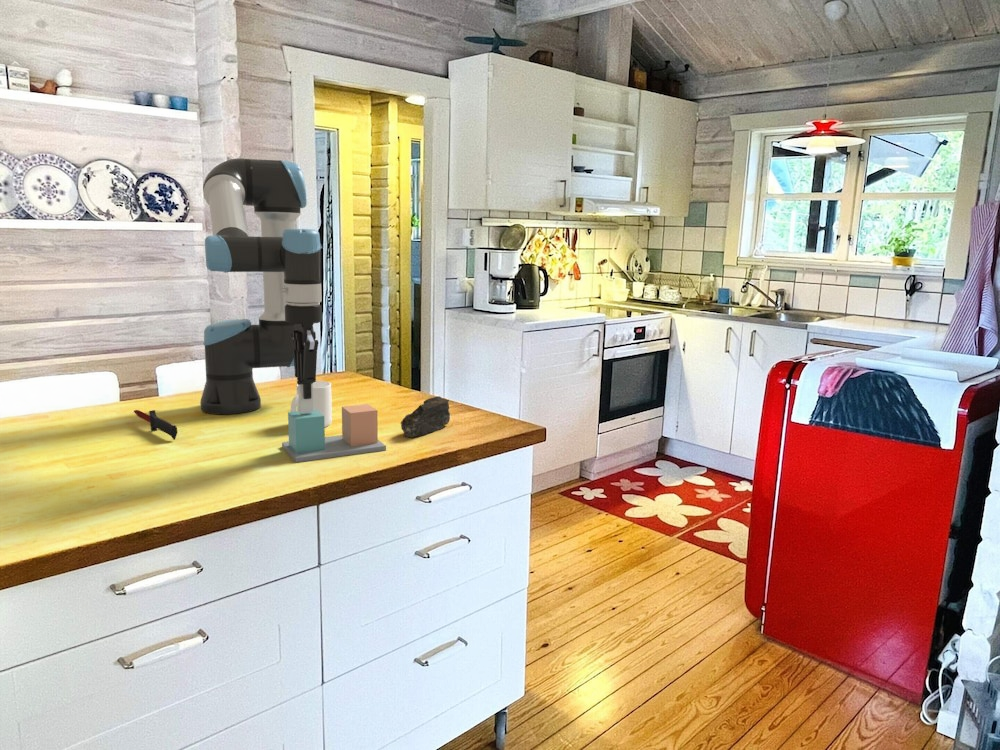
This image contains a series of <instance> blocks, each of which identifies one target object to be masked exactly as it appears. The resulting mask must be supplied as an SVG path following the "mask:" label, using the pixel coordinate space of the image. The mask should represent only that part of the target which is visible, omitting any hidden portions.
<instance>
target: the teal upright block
mask: <svg viewBox="0 0 1000 750" xmlns="http://www.w3.org/2000/svg"><path fill="white" fill-rule="evenodd" d="M287 421H288V425H287V426H288V427H287V428H288V442H289V446H290V447H291V448H292V449H293V450H294V451H295V452H296V453H303V452H311V451H319V450H325V437H326V436H325V435H326V434H325V432H326V431H325V429H326V427H325V426H324V415H323V414H321V413H320V412H319V411H318V410H316V409H314V410H313V413H303V414H301V413H299V411H294V412H291V411H288V412H287Z"/></svg>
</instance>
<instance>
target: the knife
mask: <svg viewBox="0 0 1000 750" xmlns="http://www.w3.org/2000/svg"><path fill="white" fill-rule="evenodd" d="M133 413H134V414H135V415H136V416H138V418H140V419H142V420H144V421H146V422H147V423H150V431H151V432H156V431H158V430H159V431H160V432H162V433H165V434H167V435H169V436H170V437H171V439H172V440H174V441H175V440H176V437H177V434H178V428H177V425H173V424H172V423H170V422H168V421H167V420H164V419H162V418H160V417H158V416H157V413H156V410H155V409H152V410H149V412H148V413H149V414H147V413H145V412H143V411H141V410H139V409H134V410H133Z"/></svg>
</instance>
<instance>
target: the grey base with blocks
mask: <svg viewBox="0 0 1000 750" xmlns="http://www.w3.org/2000/svg"><path fill="white" fill-rule="evenodd" d="M341 431H342V432H341V434H340V435H333V436H332V435H331V436H325V450H319V451H311V452H303V453H296V452H295V451H294V450H293V449H292V448H291V447H290V446H289V441H282V442H281V447H282V448H283V450H284V451H285V452H286V453H287V454H288V455H289V456H290V457H291V458H292V460H293V461H294V462H295V463H301V462H309V461H315V460H323V459H331V458H339V457H347V456H352V455H361V454H368V453H375V452H376V453H377V452H381V451H387V445H386V444H384V443H383V442H382V441H380V439H378V438H379V437H378V435H379V434H378V431H379V430H378V409H376V408H375V407H373V406H371V405H370V404H368V403H364V404H354V405H346V406H341Z"/></svg>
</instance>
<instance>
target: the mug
mask: <svg viewBox="0 0 1000 750" xmlns="http://www.w3.org/2000/svg"><path fill="white" fill-rule="evenodd" d="M332 403H333V402H332V383H331V382H329V381H325V380H316V382H313V410H314V409H316V410H318V411H319V412H320V413H321V414H323V415H324V426H325V428H326V427H329V426H330V425H331V424H332V422H333V421H332V419H333V412H332V411H333V410H332V406H333V405H332ZM290 404H291V405H290V412H294V411H299V394H298V384H297V383H296V395H295V396H294V397H293V399H292V401H291V403H290Z"/></svg>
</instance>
